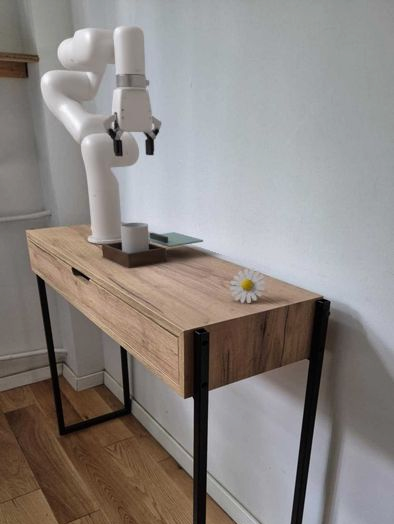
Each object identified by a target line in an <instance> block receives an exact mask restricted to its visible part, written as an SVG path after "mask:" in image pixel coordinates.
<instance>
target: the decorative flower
mask: <svg viewBox="0 0 394 524" xmlns="http://www.w3.org/2000/svg"><path fill="white" fill-rule="evenodd" d="M243 271H244V272H243ZM243 271H241V270H239V271H238V272H237V273H238V275H239V276H238V275H234V276H233V280H230V285H232V286H231V287H229V290H230V291H232V292H231V295H230V296H232V297H235V301H236V302H237V301H240V304H243V303H245V301H246V302H247V304H250V303H251V302H252V300H253V301H257V300H258V297H262V296H263V293H262V292H261V291H265V290H266V287H265V286H264V285H266V283H267V281H266V280H263V279H264V278H265V276H264V274H260V273H261V272H260V271H259V270H256V271H255V268H250V270H249V269H248V268H244V270H243ZM257 296H258V297H257Z"/></svg>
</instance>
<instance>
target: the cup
mask: <svg viewBox="0 0 394 524" xmlns="http://www.w3.org/2000/svg"><path fill="white" fill-rule="evenodd" d="M148 236H149V224H148V223H145V222H125V223H121V238H122V251H124V252H127V253H134V252H141V251H147V250H149V243H150V241H149V240H148Z"/></svg>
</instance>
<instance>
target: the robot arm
mask: <svg viewBox="0 0 394 524" xmlns="http://www.w3.org/2000/svg"><path fill="white" fill-rule="evenodd" d="M145 55H146V53H145V35H144V30H142V28H140V27H138V26H136V25H135V26H134V25H120V26H117V27H116V28H114V30H113V29H106V28H105V29H104V28H95V27H87V28H82V29H78V30H76V31H75V32H74V35H73V37H69V38H65V39H64V40H62V42H60V44H59V45H58V47H57V58H58V61H59V62H60V64H61V65H62V67H64V68H65V69H64V70H63V69H54V70H49V71H46V72H45V73H44V74H43V75H42V76H41V78H40V91H41V95H42V98H43V101H44V103H45V105H46V107H47V108H48V110H49V111H50V112H51V114H52V115H53V116H54V117H55V118H56V119H57V120H58V121H59V122H60V123H61V124H62V126H64V128H65V129H66V130H67V132H68V133H69V134H70V135H71V137H72V138H73V140H74V141H75V142H76V143H77V144H78V145H79V146H80V151H81V152H80V153H81V157H82V160H83V164H84V169H85V174H86V183H87V193H88V202H89V203H88V204H89V215H90V228H89V229H90V231H91V235H89V236H87V242H89V243H91V244H97V245H102V244H109V243H116V242H122V238H121V225H122V214H121V213H122V211H121V197H120V196H121V195H120V184H119V180H118V178H117V176H116V175H115V173H114V172H113V170H112V169H111V168H126V167H131V166H134V165H135V164H136V163H137V162H138V160H139V157H140V148H139V145H138V142H137V140H136V138H135V137H134V136H133V134H132V133H142V134H143V135H144V136H145V138H146V139H145V140H144V142H145V143H144V144H145V155H146V156H154V155H155V140H156V138H157V136H158V135H159V133H160V130H161V127H162V121H161V120H159V119H158V118H156V117H155V116H153V112H152V104H151V98H150V93H149V90H147V87H149V86H150V79H149V80H148V79H147V77H146V57H145ZM108 65H114V67H115V82H116V83H115V85H116V89H113V93H112V103H111V114H96V113H95V114H94V113H91V112H88V111H87V109H86V107H84V106H83V105H82V104H81V103H79V102H90V101H92V100H94V99H95V98H96V96H97V95H98V92H99V90H100V88H101V87H100V86H101V84H102V82H103V79H104V76H105V73H106V70H107V67H108Z"/></svg>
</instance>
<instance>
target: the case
mask: <svg viewBox="0 0 394 524" xmlns="http://www.w3.org/2000/svg"><path fill="white" fill-rule="evenodd" d="M101 250H102V258H103V259H106V260H108V261H111V262H114V263H116V264H118V265H120V266H123V267H126V268H128V269H131V268H137V267H141V266H142V267H143V266H147V265H153V264H158V263H164V262H165V263H166V262H167V253H166V251H167V250H166V247H163V246H161V245H157V244H153V243H150V242H149V250H147V251H141V252H134V253H127V252H124V251H122V242H116V243H109V244H101Z"/></svg>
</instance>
